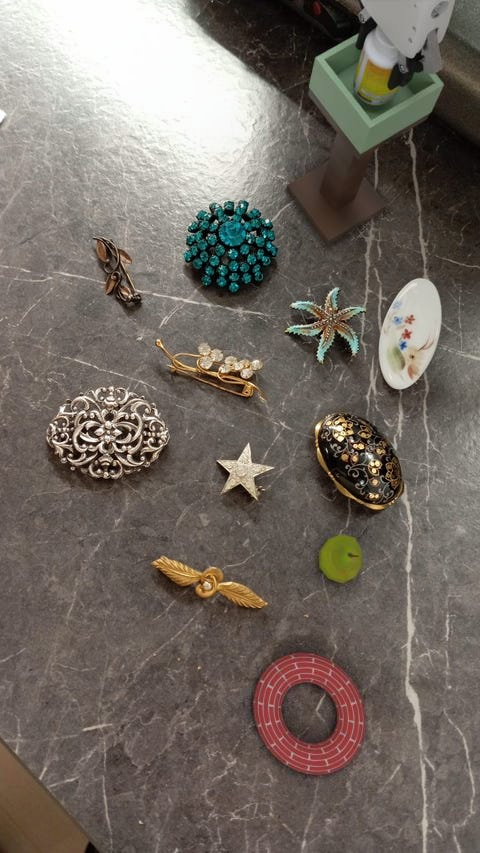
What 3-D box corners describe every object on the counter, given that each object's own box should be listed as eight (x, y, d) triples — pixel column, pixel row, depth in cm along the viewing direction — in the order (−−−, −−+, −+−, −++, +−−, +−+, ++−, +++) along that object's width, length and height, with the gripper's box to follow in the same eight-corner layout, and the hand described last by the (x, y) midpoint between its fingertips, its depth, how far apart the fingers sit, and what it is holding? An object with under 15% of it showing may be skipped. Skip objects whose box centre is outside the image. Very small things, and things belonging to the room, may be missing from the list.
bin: (379, 46, 116) (389, 15, 110) (431, 112, 114) (444, 84, 108) (308, 86, 113) (315, 57, 108) (360, 154, 112) (369, 128, 106)
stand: (343, 156, 141) (379, 47, 116) (384, 210, 139) (430, 112, 114) (285, 189, 139) (309, 87, 113) (327, 245, 137) (360, 153, 112)
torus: (230, 688, 120) (232, 689, 117) (318, 631, 123) (322, 630, 119) (296, 796, 117) (299, 800, 114) (384, 734, 120) (390, 737, 116)
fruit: (321, 532, 126) (335, 520, 114) (364, 544, 126) (382, 533, 114) (310, 577, 124) (323, 569, 113) (353, 589, 124) (371, 582, 113)
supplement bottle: (403, 101, 111) (424, 47, 101) (360, 112, 110) (378, 58, 100) (388, 63, 112) (408, 6, 102) (346, 73, 111) (362, 16, 101)
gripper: (504, -7, 88) (451, 103, 106) (400, -131, 91) (365, -4, 109) (444, 27, 87) (400, 133, 104) (340, -99, 90) (315, 24, 107)
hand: (383, 62), depth 106 cm, fingers closed on supplement bottle, 5 cm apart
